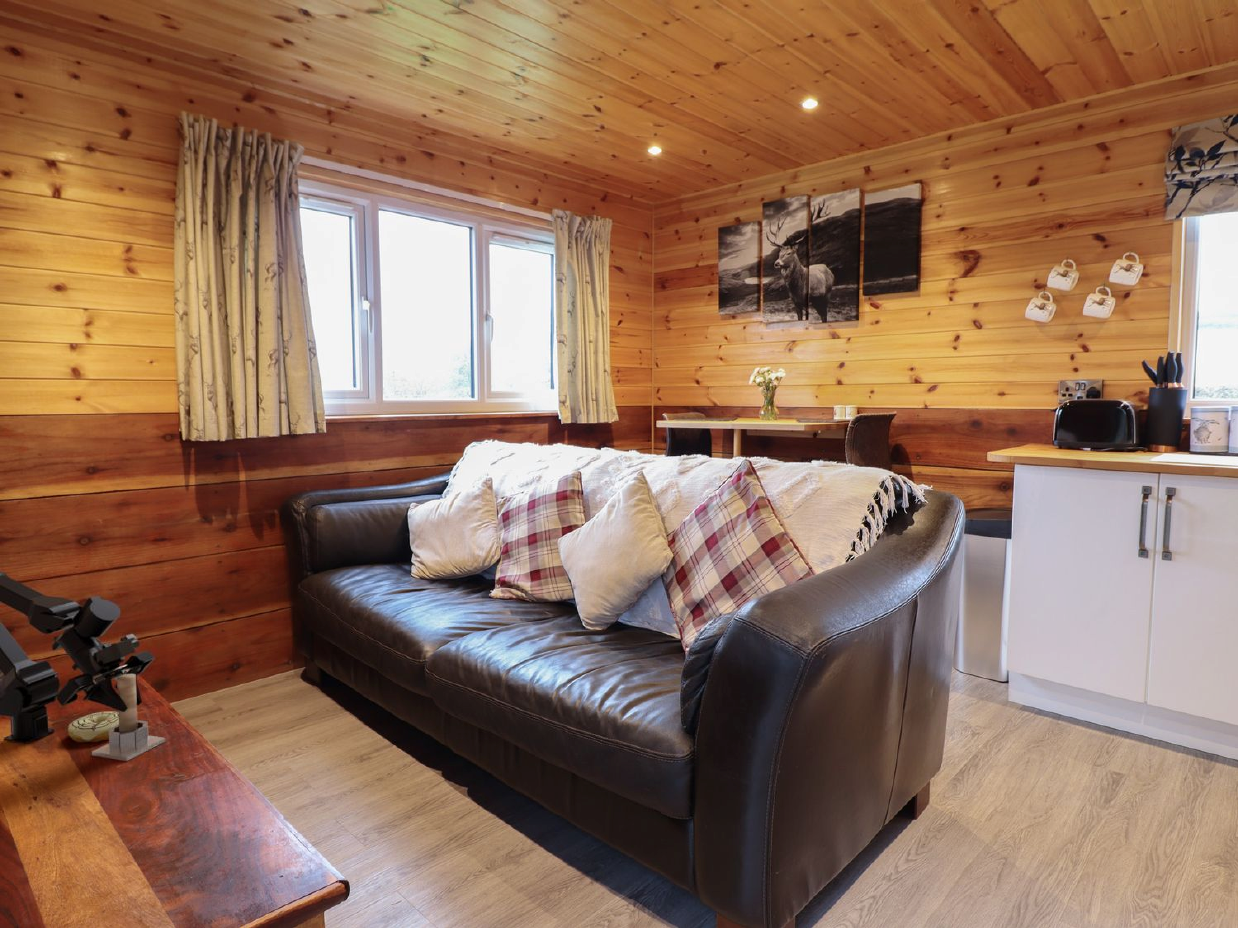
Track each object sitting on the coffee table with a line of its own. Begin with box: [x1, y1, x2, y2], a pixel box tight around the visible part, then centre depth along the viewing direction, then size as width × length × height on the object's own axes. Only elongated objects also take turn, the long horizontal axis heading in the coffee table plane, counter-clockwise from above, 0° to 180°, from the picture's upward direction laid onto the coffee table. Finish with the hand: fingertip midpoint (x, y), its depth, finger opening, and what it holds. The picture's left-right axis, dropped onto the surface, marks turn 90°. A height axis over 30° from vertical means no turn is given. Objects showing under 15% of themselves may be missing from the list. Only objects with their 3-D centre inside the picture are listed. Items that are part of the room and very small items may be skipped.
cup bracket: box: [91, 719, 166, 762], centre depth 152 cm, size 9×9×4 cm
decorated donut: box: [67, 710, 119, 743], centre depth 159 cm, size 10×11×4 cm
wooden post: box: [116, 674, 138, 733], centre depth 152 cm, size 3×3×13 cm
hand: (133, 706), depth 151 cm, fingers closed on wooden post, 3 cm apart
